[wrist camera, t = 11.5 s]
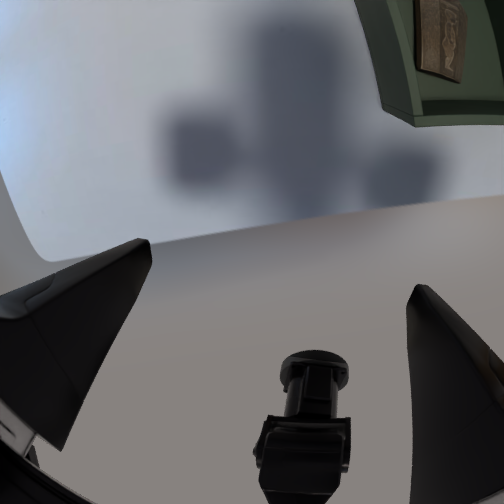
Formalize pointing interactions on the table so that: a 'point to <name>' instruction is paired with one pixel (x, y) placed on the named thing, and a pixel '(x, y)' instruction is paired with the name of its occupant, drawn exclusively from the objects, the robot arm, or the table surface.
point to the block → (441, 38)
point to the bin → (430, 87)
